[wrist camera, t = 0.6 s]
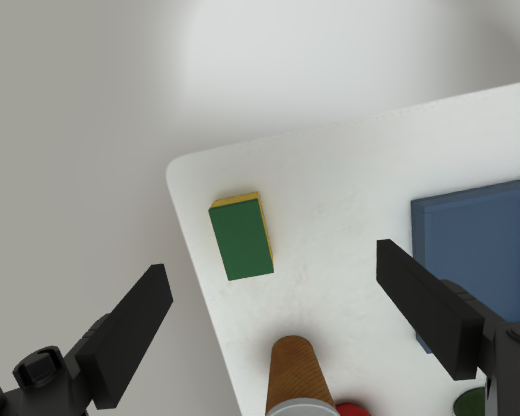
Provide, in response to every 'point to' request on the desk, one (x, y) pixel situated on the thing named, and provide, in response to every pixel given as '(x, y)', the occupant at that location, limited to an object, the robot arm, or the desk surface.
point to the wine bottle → (471, 403)
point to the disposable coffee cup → (297, 381)
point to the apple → (351, 410)
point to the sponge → (242, 236)
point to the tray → (473, 244)
